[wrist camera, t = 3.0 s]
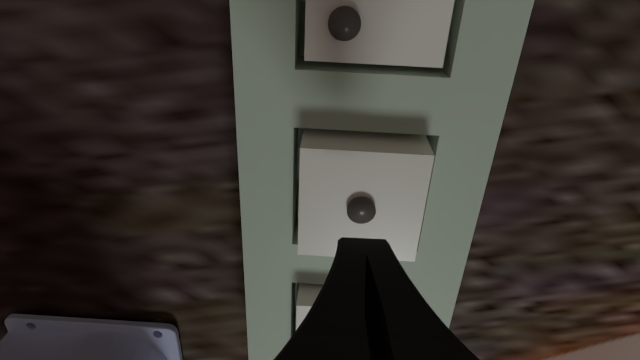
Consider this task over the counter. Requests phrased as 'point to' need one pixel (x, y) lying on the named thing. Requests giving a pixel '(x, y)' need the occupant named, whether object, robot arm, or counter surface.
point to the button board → (370, 116)
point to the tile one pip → (362, 189)
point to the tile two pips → (378, 31)
